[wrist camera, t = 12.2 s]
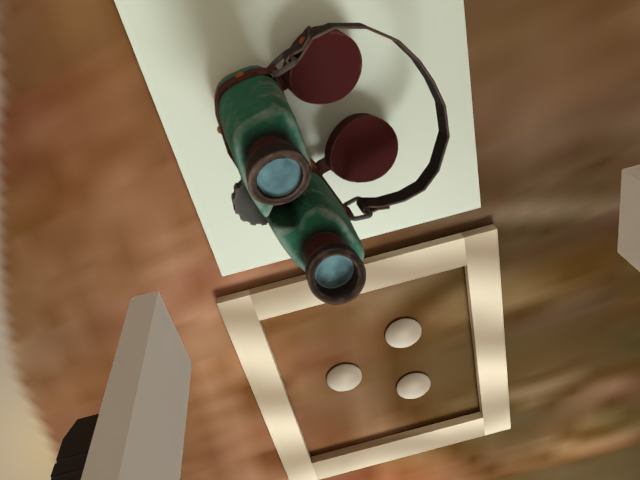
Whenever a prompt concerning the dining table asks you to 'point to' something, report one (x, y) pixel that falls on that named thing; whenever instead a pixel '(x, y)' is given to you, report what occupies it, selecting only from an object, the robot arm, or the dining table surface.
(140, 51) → the pad
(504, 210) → the dining table surface
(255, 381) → the frame
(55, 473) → the robot arm
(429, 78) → the binoculars
